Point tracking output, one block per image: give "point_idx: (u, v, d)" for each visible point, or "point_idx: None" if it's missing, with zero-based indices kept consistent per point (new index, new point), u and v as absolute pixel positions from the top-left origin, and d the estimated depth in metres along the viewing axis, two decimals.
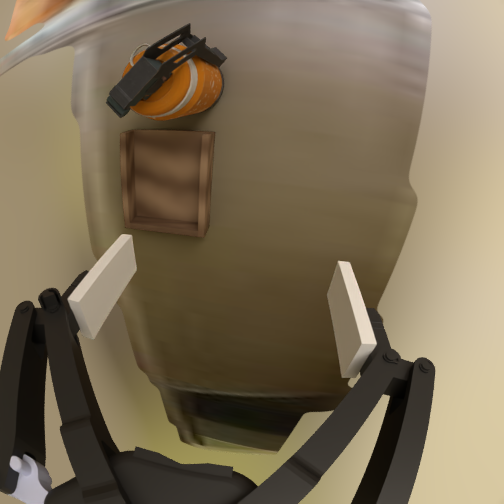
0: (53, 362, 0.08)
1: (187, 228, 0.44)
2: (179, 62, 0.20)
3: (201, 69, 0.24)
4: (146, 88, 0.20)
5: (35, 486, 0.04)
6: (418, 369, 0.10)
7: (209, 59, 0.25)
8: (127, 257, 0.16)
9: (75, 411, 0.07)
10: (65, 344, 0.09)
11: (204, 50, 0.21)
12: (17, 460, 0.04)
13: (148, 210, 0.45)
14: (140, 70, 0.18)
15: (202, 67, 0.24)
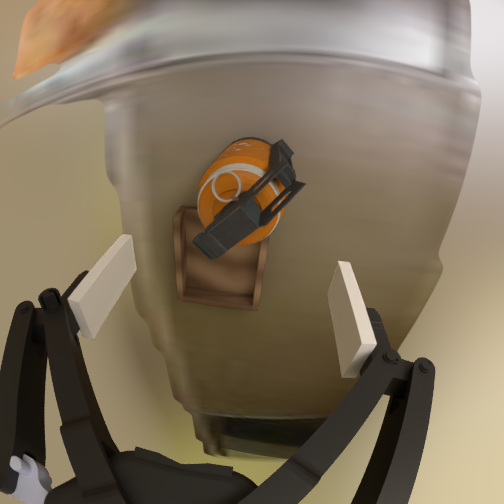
0: (53, 362, 0.08)
1: (241, 303, 0.47)
2: (273, 205, 0.23)
3: None
4: None
5: (35, 486, 0.04)
6: (418, 369, 0.10)
7: None
8: (127, 257, 0.16)
9: (75, 411, 0.07)
10: (65, 344, 0.09)
11: (293, 180, 0.24)
12: (17, 460, 0.04)
13: (199, 282, 0.49)
14: (237, 222, 0.22)
15: (284, 189, 0.27)
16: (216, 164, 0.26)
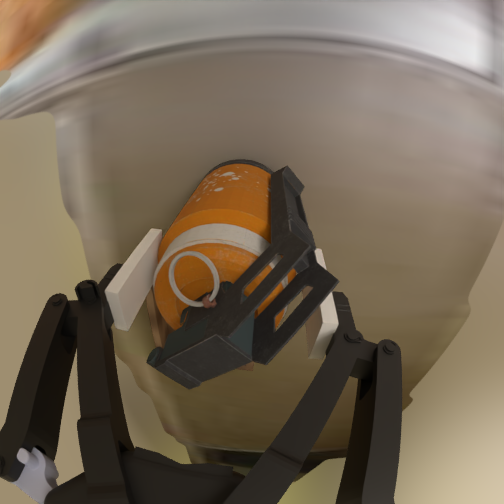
0: (81, 355, 0.09)
1: None
2: None
3: None
4: None
5: (39, 480, 0.04)
6: (382, 352, 0.11)
7: None
8: (157, 251, 0.17)
9: (96, 407, 0.07)
10: (97, 338, 0.10)
11: None
12: (25, 453, 0.05)
13: None
14: (214, 354, 0.12)
15: None
16: (181, 222, 0.16)
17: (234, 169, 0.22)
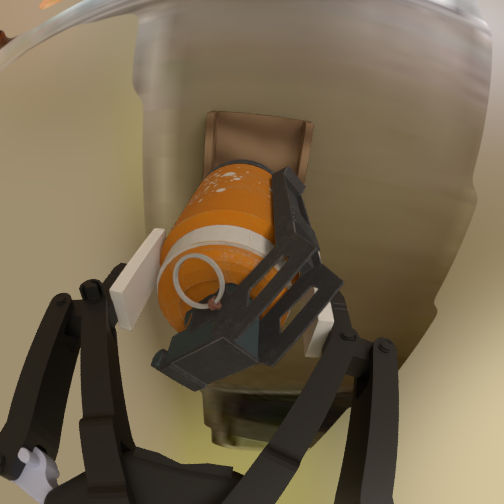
0: (85, 354, 0.09)
1: None
2: (283, 311, 0.13)
3: None
4: None
5: (39, 479, 0.04)
6: (378, 350, 0.11)
7: None
8: None
9: (99, 407, 0.07)
10: (100, 337, 0.10)
11: (315, 258, 0.14)
12: (26, 453, 0.05)
13: None
14: (220, 356, 0.11)
15: None
16: (184, 224, 0.16)
17: (235, 169, 0.22)
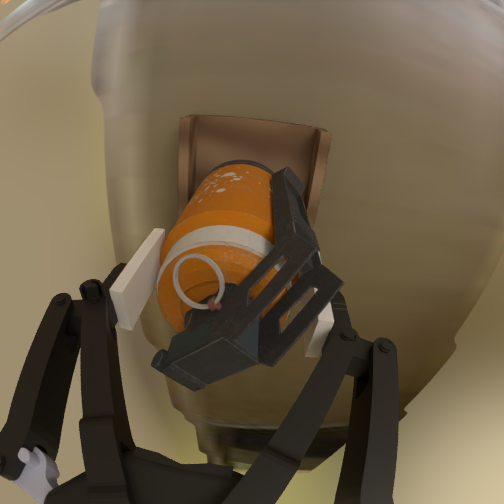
0: (85, 354, 0.09)
1: None
2: (283, 312, 0.13)
3: None
4: None
5: (39, 479, 0.04)
6: (378, 350, 0.11)
7: None
8: None
9: (99, 407, 0.07)
10: (101, 337, 0.10)
11: (315, 258, 0.14)
12: (26, 453, 0.05)
13: None
14: (220, 356, 0.11)
15: None
16: (183, 224, 0.16)
17: (235, 169, 0.22)
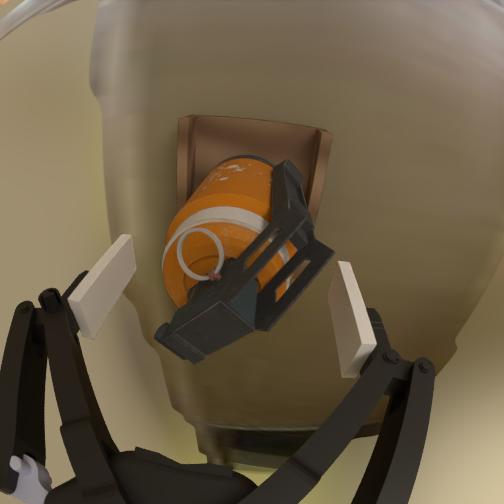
0: (53, 362, 0.08)
1: None
2: (279, 283, 0.14)
3: (293, 248, 0.18)
4: None
5: (35, 486, 0.04)
6: (418, 369, 0.10)
7: None
8: (127, 257, 0.16)
9: (75, 411, 0.07)
10: (65, 344, 0.09)
11: (310, 236, 0.15)
12: (17, 460, 0.04)
13: None
14: (218, 323, 0.12)
15: None
16: (188, 207, 0.17)
17: (238, 162, 0.24)
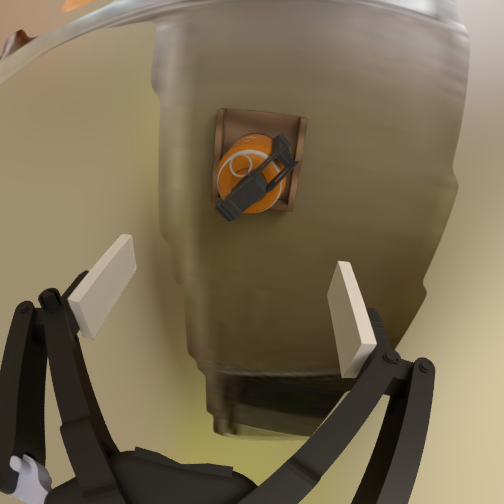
0: (53, 362, 0.08)
1: (276, 203, 0.47)
2: (276, 178, 0.30)
3: (283, 172, 0.34)
4: None
5: (35, 486, 0.04)
6: (418, 369, 0.10)
7: None
8: (127, 257, 0.16)
9: (75, 411, 0.07)
10: (65, 344, 0.09)
11: (290, 161, 0.32)
12: (17, 460, 0.04)
13: None
14: (250, 189, 0.29)
15: None
16: (231, 151, 0.33)
17: (253, 135, 0.40)
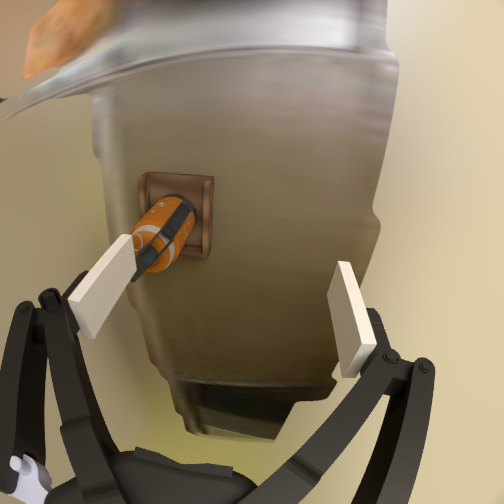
0: (53, 362, 0.08)
1: (194, 251, 0.57)
2: (161, 252, 0.40)
3: (175, 240, 0.43)
4: None
5: (35, 486, 0.04)
6: (418, 369, 0.10)
7: None
8: (127, 257, 0.16)
9: (75, 411, 0.07)
10: (65, 344, 0.09)
11: (175, 235, 0.41)
12: (17, 460, 0.04)
13: None
14: (139, 263, 0.38)
15: (176, 238, 0.43)
16: (136, 225, 0.43)
17: (165, 200, 0.49)
